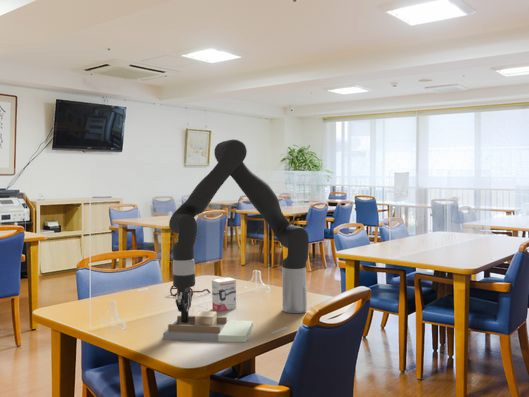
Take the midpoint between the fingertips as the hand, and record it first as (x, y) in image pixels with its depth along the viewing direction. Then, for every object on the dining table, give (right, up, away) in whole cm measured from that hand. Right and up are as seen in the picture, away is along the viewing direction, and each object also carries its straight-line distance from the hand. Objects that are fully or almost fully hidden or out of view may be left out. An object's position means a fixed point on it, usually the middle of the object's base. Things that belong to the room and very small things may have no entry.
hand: (185, 322), depth 176 cm
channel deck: (+8, -3, -1) cm, 9 cm away
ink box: (+11, -2, +29) cm, 31 cm away
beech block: (+7, -1, -1) cm, 8 cm away
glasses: (-6, -1, +53) cm, 54 cm away
